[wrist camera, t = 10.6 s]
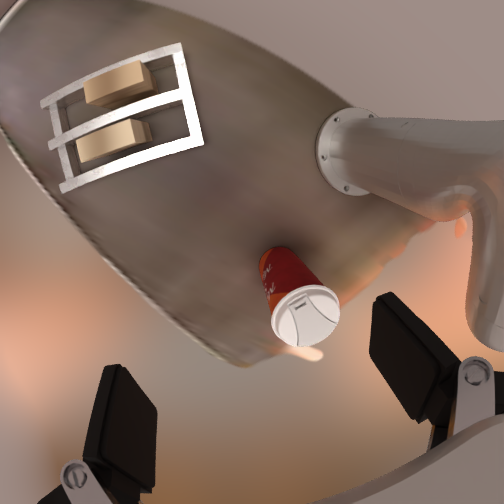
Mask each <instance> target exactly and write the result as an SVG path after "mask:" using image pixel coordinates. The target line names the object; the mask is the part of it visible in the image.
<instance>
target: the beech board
mask: <svg viewBox="0 0 504 504" xmlns="http://www.w3.org/2000/svg"><path fill="white" fill-rule="evenodd" d="M150 141H153V140H152V136H151V132H150V127H149V123H147V122H142V121H138V120H134V119H128V120H125V121H122V122H119V123H117V124H114V125H111V126H109V127H106V128H104V129H101V130H99V131H96V132H94V133H92V134H89V135H87V136H85V137H82V138H80V139H78V140H76V144H77V148H78V152H79V156H80V160H81V163H83V162H86V161H90V160H94V159H98V158H101V157H105V156H110V155H112V154H115V153H118V152H120V151H123V150H126V149H129V148H132V147H135V146H138V145H141V144H144V143H147V142H150Z"/></svg>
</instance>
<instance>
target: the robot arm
mask: <svg viewBox="0 0 504 504" xmlns="http://www.w3.org/2000/svg"><path fill="white" fill-rule="evenodd" d="M334 118H335V120H336V121H334ZM315 152H316V160H317V164H318V167H319V170H320V172H321V174H322V176H323V177H324V178H325V180H326V181H327V182H328V183H329V184H330V185H331V186H332V187H333V188H335V189H336V190H338V191H340V192H342V193H344V194H347V195H352V196H362V195H367V194H369V193H373V194H375V195H378V196H380V197H382V198H385V199H387V200H389V201H391V202H394V203H396V204H398V205H400V206H402V207H404V208H407V209H409V210H411V211H413V212H415V213H417V214H419V215H422V216H424V217H426V218H428V219H431V220H434V221H439V222H447V221H451V220H455V219H457V218H460V217H462V216H463V215H465V214H467V213H468V212H471V215H472V220H473V236H472V241H473V246H472V256H471V265H470V272H469V280H468V286H467V293H466V303H465V304H466V305H465V310H466V319H467V323H468V326H469V328H470V330H471V332H472V333H473V335H474V336H475V337H476V338H477V339H478V340H479V341H480V342H481V343H482V344H484V345H485V346H487V347H489V348H491V349H493V350H496V351H500V352H504V120H498V121H455V120H439V119H420V118H379V117H378V116H377V115H375V114H374V113H373V112H371V111H369V110H366V109H362V108H354V107H352V108H345V109H342V110H339V111H337V112H335V113H333V114H332V115H331V116H330V117H328V118H327V119H326V121H325V122H324V123H323V125H322V126H321V128H320V131H319V133H318V136H317V140H316V149H315ZM321 156H323V158H322V159H321ZM344 187H345V188H344ZM369 354H370V357H371V359H372V361H373V362H374V364H375V365H376V367H377V368H378V370H379V371H380V373H381V374H382V375H383V377H384V379H385V380H386V381H387V383H388V385H389V386H390V388H391V389H392V391H393V392H394V394H395V395H396V397H397V398H398V400H399V401H400V403H401V405H402V406H403V408H404V409H405V411H406V412H407V414H408V415H409V417H410V418H411V419H412V420H414V419H415V420H416V421H417V422H418V424H419V423H421V422H423V421H424V420H426V419H429V421H430V422H431V424H432V428H431V433H430V438H429V442H428V447H427V451H426V453H425V454H423V455H421V456H419V457H418V458H416V459H414V460H412V461H410V462H408V463H407V464H405V465H403V466H401V467H399V468H397V469H395V470H394V471H391V472H389V473H387V474H385V475H383V476H381V477H379V478H376V479H374V480H372V481H370V482H367V483H365V484H363V485H360V486H358V487H355V488H353V489H350V490H348V491H345V492H342V493H340V494H337V495H334V496H331V497H328V498H325V499H322V500H319V501H315V502H312V503H308V504H504V372H498V371H493V368H492V366H491V364H490V363H489V362H488V361H487V360H486V359H484V358H481V357H477V356H474V357H469V358H467V359H465V360H464V361H463V362H461V361H460V360H459V359H458V358H457V356H456V355H455V354H454V353H453V352H452V351H451V350H450V349H449V348H448V347H447V346H446V345H445V343H444V342H443V341H442V340H441V339H440V338H439V337H438V336H437V335H436V334H435V333H434V332H433V331H432V330H431V329H430V328H429V327H428V326H427V325H426V324H425V323H424V322H423V321H422V320H421V319H420V318H418V317H417V316H416V315H415V314H414V313H413V312H412V311H411V310H410V309H409V308H408V307H407V306H406V305H405V304H404V303H403V302H402V301H401V300H400V299H399V298H398V297H397V296H396V295H395V294H394V293H392V292H388V293H385V294H382V295H380V296H378V297H377V298H376V301H375V302H373V308H372V323H371V336H370V346H369ZM156 433H157V410H156V407H155V406H154V405H153V403H152V402H151V401H150V400H149V398H148V397H147V396H146V394H145V393H144V392H143V390H142V389H141V388H140V387H139V385H138V384H137V383H136V381H135V380H134V378H133V377H132V376H131V374H130V373H129V371H128V370H127V369H126V368H125V367H122V366H121V365H120V364H114V365H107V366H105V367H104V370H103V373H102V377H101V380H100V383H99V387H98V391H97V394H96V398H95V402H94V406H93V410H92V414H91V418H90V422H89V427H88V432H87V436H86V441H85V446H84V451H83V461H81V460H77V459H76V460H71V461H69V462H67V463H66V464H65V465H64V466H63V468H62V470H61V474H60V480H61V483H62V484H61V485H59V486H58V487H57V488H56V489H54V490H53V491H52V492H50V493H49V494H48V495H46V496H45V497H44V498H42V499H41V500H40V501H39V502H38V503H37V504H143V502H142V501H141V500H140V493H152V488H153V487H154V486H155V460H156Z"/></svg>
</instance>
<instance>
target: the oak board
mask: <svg viewBox="0 0 504 504" xmlns="http://www.w3.org/2000/svg"><path fill="white" fill-rule="evenodd" d="M83 86H84V92H85V97H86V102H87V104H91V105H95V106H100V107H104V108H108V109H112V110H115V109H118V108H121V107H123V106H126V105H129V104H131V103H134V102H137V101H140V100H143V99H146V98H149V97H152V96H155V95H158V94H159V93H158V89H157V84H156V79H155V77H154V76H153V74H152V73H151V72H150V71H149V70H148V69H147V68H146V66H145V65H144V64H143V63H142V62H141V61H140V59H139V60H137V61H134V62H131V63H128V64H125V65H123V66H120V67H118V68H115V69H113V70H110V71H108V72H105V73H103V74H101V75H98V76H96V77H94V78H92V79H89V80H87V81H85V82H83Z"/></svg>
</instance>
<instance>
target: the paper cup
mask: <svg viewBox="0 0 504 504" xmlns="http://www.w3.org/2000/svg"><path fill="white" fill-rule="evenodd" d="M259 270H260V274H261V278H262V282H263V286H264V289H265V293H266V297H267V300H268V304H269V307H270V311H271V314H272V320H271V323H272V328H273V331H274V333H275V334H276V335H277V336H278V337H279V338H280V339H282V340H283V341H284V342H286V343H287V344H289V345H291V346H295V347H304V346H310V345H314V344H316V343H318V342H320V341H322V340H323V339H325V338H326V337H327V336H329V334H331V333H332V331H333V330H334V328H335V327H336V325H337V323H338V321H339V317H340V310H339V301H338V298H337V296H336V294H335V293H334V292H333V291H332V290H331V289H329V288H327V287H325V286H324V285H323V284H322V283H321V282H320V281H319V280H318V278H317V277H316V276H315V275H314V274H313V273H312V272H311V271H310V270H309V269H308V268H307V266H306V265H305V264H304V263H303V262H302V261H301V260H300V259H299V258H298V257H297V256H296V255H295V254H294V253H293V252H292V251H291V250H289V249H288V248H285V247H275V248H272V249H270V250H268V251H267V252H265V253H264V255H263V256H262V258H261V260H260V263H259Z"/></svg>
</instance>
